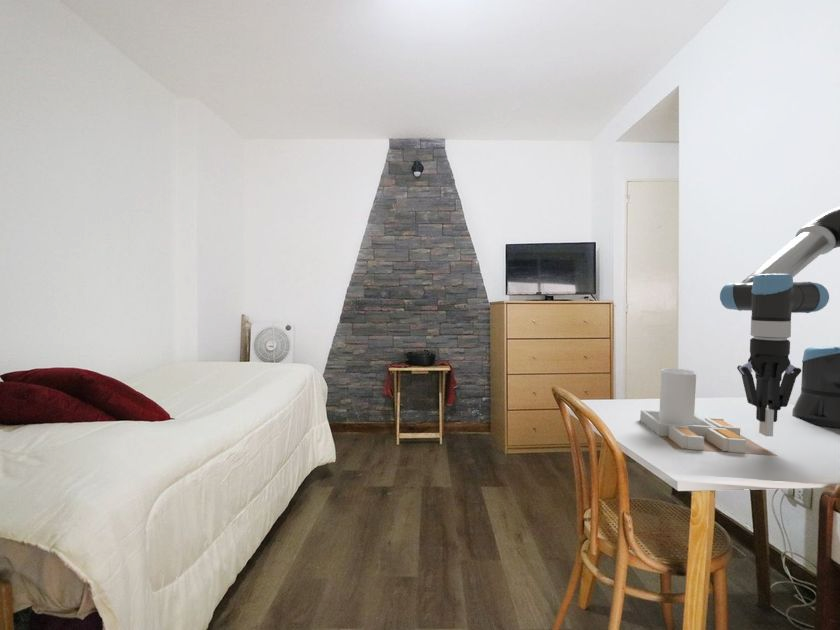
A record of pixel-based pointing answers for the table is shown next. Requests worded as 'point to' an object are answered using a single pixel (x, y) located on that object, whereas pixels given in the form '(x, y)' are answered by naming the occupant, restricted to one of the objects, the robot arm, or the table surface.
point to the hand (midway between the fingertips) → (765, 434)
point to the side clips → (693, 441)
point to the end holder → (663, 429)
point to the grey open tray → (725, 441)
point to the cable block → (728, 434)
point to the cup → (677, 396)
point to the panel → (708, 446)
